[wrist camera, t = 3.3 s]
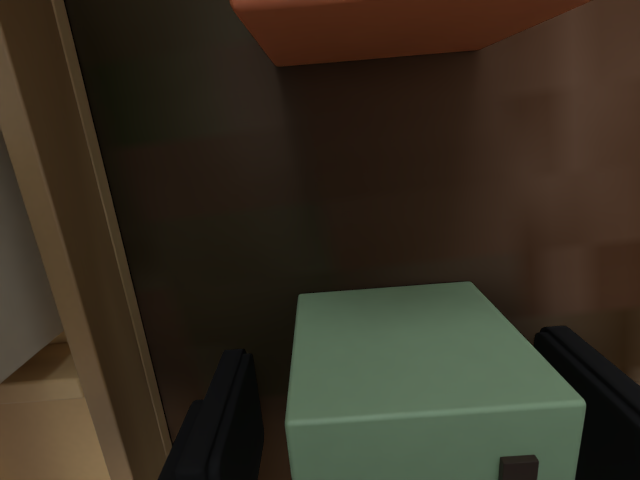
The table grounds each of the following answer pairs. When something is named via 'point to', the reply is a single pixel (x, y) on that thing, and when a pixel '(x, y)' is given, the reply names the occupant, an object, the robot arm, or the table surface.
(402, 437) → the sage block
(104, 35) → the table surface
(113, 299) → the wooden tray
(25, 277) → the ivory block
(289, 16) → the terracotta block
